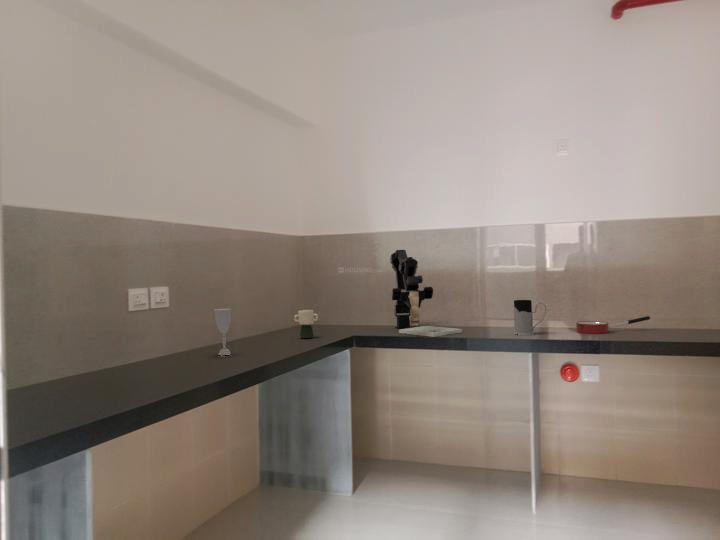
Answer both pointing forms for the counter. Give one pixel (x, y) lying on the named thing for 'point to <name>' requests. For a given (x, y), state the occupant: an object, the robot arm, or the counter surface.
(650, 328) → the counter surface
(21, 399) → the counter surface
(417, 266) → the robot arm
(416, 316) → the beech peg
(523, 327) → the grey mug
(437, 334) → the seat board
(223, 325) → the chalice
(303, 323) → the trophy cup
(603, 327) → the frying pan
